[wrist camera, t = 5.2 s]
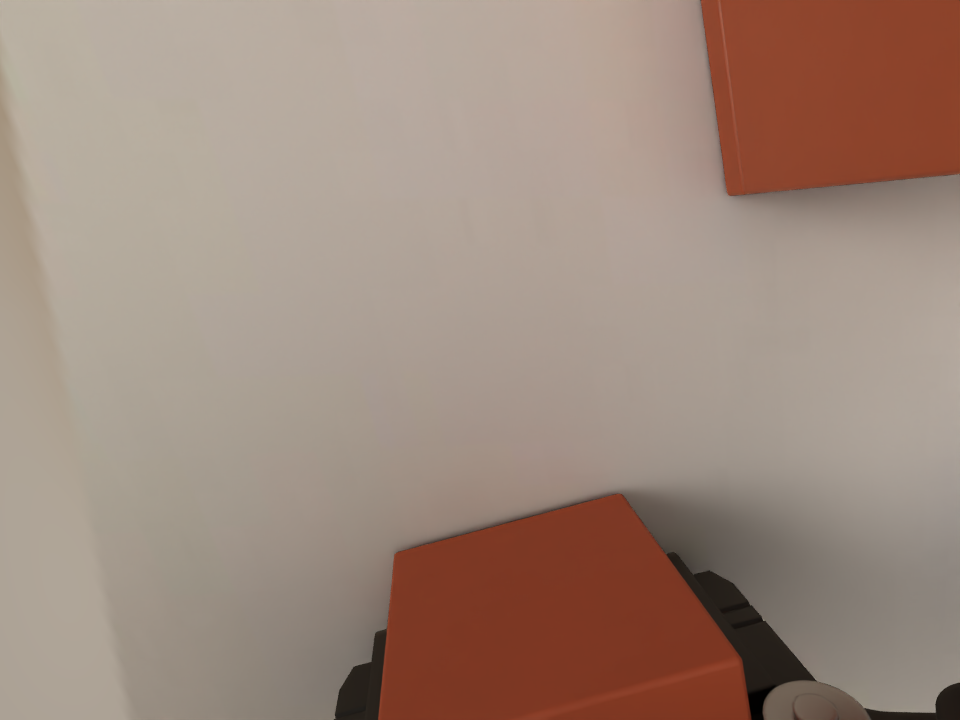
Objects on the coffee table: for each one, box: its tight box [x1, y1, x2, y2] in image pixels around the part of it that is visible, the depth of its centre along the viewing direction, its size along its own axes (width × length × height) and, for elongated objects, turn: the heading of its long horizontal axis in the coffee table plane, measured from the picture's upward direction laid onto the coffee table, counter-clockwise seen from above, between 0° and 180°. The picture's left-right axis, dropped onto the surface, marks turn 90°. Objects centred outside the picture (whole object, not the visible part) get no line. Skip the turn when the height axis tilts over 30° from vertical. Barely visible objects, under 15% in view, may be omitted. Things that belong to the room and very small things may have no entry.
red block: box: [378, 494, 752, 720], centre depth 10 cm, size 5×5×5 cm
